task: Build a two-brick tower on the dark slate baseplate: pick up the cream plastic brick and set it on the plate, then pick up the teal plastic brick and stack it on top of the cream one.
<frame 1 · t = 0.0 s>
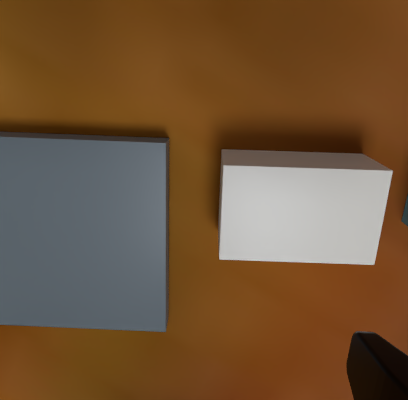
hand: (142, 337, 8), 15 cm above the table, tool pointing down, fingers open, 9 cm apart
baseplate: (71, 231, 23), on the table
cream brick: (286, 192, 23), on the table
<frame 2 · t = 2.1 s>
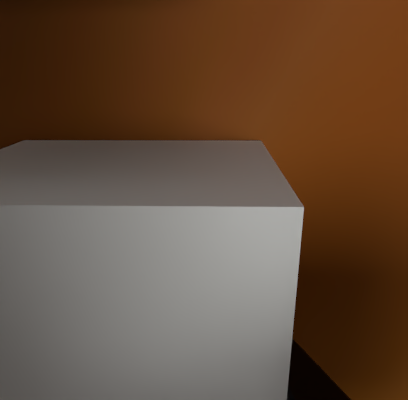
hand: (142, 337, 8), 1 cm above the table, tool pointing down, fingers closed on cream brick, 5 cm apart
cream brick: (151, 302, 9), on the table, touching gripper
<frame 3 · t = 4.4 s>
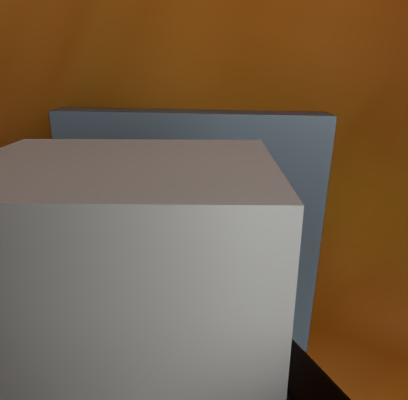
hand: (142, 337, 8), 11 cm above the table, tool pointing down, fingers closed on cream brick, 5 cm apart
baseplate: (193, 231, 19), on the table
cream brick: (150, 302, 9), point 10 cm above the table, touching gripper
when the fingers open (4 cm above the table, at t = 6.6 s): cream brick drops 1 cm, resting on baseplate.
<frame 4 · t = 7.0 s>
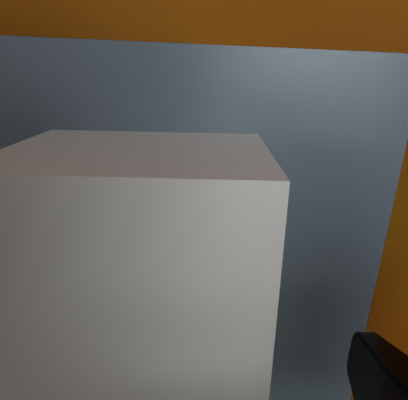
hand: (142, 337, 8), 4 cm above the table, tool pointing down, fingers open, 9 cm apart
baseplate: (163, 252, 12), on the table
cream brick: (157, 277, 10), point 1 cm above the table, touching baseplate
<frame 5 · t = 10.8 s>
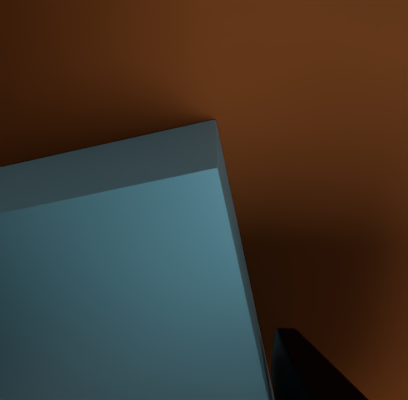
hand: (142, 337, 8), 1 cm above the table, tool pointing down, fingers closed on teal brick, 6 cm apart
teal brick: (149, 303, 9), on the table, touching gripper
when the fingers open (8 cm above the table, at t = 15.2 s): teal brick stays where it is, resting on cream brick.
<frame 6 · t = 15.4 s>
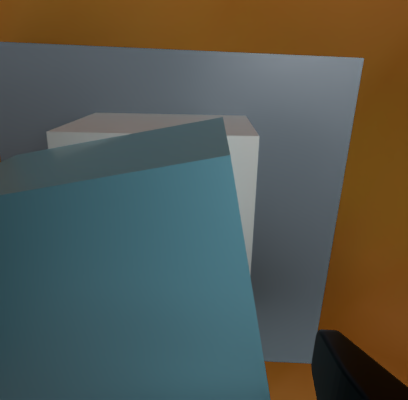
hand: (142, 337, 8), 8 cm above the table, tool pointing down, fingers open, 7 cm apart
teal brick: (155, 282, 10), point 5 cm above the table, touching cream brick
baseplate: (174, 210, 15), on the table
cream brick: (171, 224, 14), point 1 cm above the table, touching baseplate, teal brick
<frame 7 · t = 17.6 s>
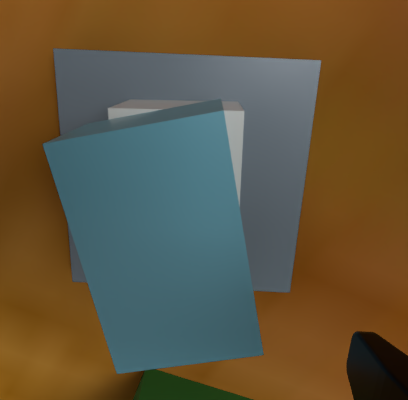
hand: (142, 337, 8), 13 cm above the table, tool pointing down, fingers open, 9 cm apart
teal brick: (175, 211, 15), point 5 cm above the table, touching cream brick
baseplate: (185, 174, 20), on the table
cream brick: (184, 182, 19), point 1 cm above the table, touching baseplate, teal brick
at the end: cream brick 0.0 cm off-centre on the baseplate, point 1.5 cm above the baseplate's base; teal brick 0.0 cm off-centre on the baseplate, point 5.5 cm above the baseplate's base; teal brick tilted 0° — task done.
